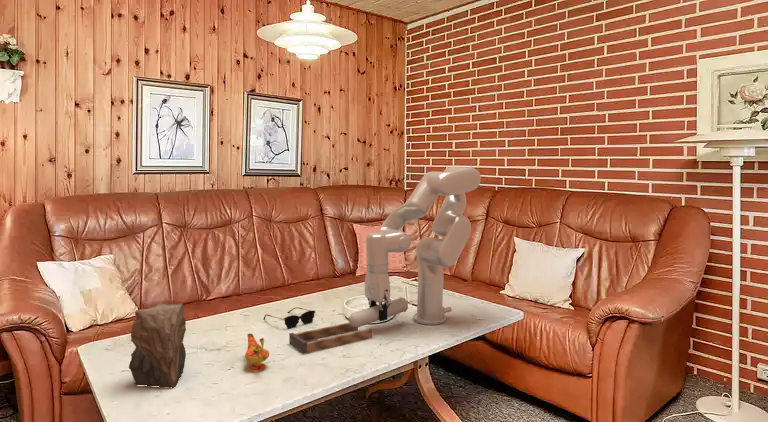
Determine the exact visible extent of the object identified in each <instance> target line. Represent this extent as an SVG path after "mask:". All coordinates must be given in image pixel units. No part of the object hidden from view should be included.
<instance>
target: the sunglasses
mask: <svg viewBox="0 0 768 422" xmlns="http://www.w3.org/2000/svg"><path fill="white" fill-rule="evenodd" d="M295 309H297V310H298V309H299V310H303V311H304V312H303V313H302V314H301V315H299V316H298V315H297V314H296V315H294V314H291V315H288V316H285V317H278V316H274V315H270V314H268V313H267V314H265V315H264V317H263V320H265V319H266V317H271V318H275V319H280V320H282V321H284V325H285V326H286V328H287V330H290V329H294V328H296V327H297V326H298V324H299V321H301V323H302V324H303V325H305V326H306V325H309V324H313V321H314V318H315V314H316V310H311V309H307V308H302V307H294V308H292V309H289V311H287V312H286V313H287V314H290V313H291V312H292V311H293V310H295ZM305 311H306V312H305Z"/></svg>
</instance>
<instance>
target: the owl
mask: <svg viewBox="0 0 768 422" xmlns="http://www.w3.org/2000/svg"><path fill="white" fill-rule="evenodd" d="M184 311H185V306H184V303H183V302H180V303H159V304H157V305H155V306H151V307H149V308H140V309H136V310H135V311H134V315H135V316H136V319H135V320H134V322H133V324H132V326H131V331H130V338H131V339H130V341H131V342H132V344H133V345H134V346H135V348H134V350H133V351H132V353H131V360H130V362H129V364H128V368H129V370H130V373H131V375H132V377H133V380H134V382H135V383H134V385H135V384H136V385H147V386H159V387H172V388H171V389H175V388H174V387H176V388H177V385H178V383H179V382H178V381H179V380H180V379H181V378H180V377H182V375H183V374H184V369H185V365H186V364H185V363H186V357H187V356H186V355H187V353H186V349H185V348H186V347H185V345H184V343H183V342H184V338H185V334H186V331H187V328H186V325H187V322H186V320H187V319H186V317H185V316H184V313H185V312H184ZM182 373H183V374H182ZM181 374H182V375H181ZM179 378H180V379H179ZM159 387H158V388H159Z"/></svg>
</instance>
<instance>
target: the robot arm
mask: <svg viewBox="0 0 768 422" xmlns="http://www.w3.org/2000/svg"><path fill="white" fill-rule="evenodd" d="M481 177H482V176H481V173H480V172H479V171H478V169H476V168H474V167H468V166H449V167H446V168H445V169H444V170H443V171H428V172H426V173H424V175H423V176H422V177H421V179H420V181H419V182H418V183H417V185H416V186H415V188H414V190H413V191H412V193H411V194H410V196H409V197H408V199H407V200H406V202H404V203H403V204H402V205H400V206H399V207H398V208H396V209H395V210H393V212H391V213H390V214H389V215H388V216H387V217H386V219H385V220H384V221H383V223H382V225H381V226H380V227H379V230H378V231H375V232H374V231H373V232H370V233H368V234H367V235H366V237H365V238H366V239H365V242H366V243H365V244H366V246H365V247H366V253H365V254H366V271H365V277H364V297H366V298H367V301H368V305H369V306H368V308H370V307H373V306H376V305H379V306H380V310H379V320H378V321H379V322H383V321H387V320H388V317H387V309H388V307H389V305H390V304H391V303H392V299H391V285H390V284H391V282H390V276H389V253H398V254H399V253H403V252H405V251H407V250H408V249H409V248H410V246H411V244H412V239H411V237H410V235H409V234H408V233H406V232H405V231H402V230H401V229H402V228H403V227H404V226H405V225H407V224H408V223H410V222H413V221H416V220H418V219H421V218H423V217H425V216H426V215H427V214H428V212H429V211H430V209H431V208H432V206H433V204H434V203H435V201H436V200H437V198H438V197H439V196H443V197H444V196H445V197H444V200H443V203H442V204H441V206H440V208H439V211H438V212H437V214H436V216H435V218H434V220H433V223H432V225H431V230H432V232H433V234H435V235H436V236H438V237H433V236H426V237H423V238H420V239H419V241H418V242H417V244H416V247H415V254H416V261H417V270H418V271H417V272H418V273H417V299H416V300H417V301H416V302H417V305H416V306H417V307H416V313H414V314H413V315H412V319H413V321H414V322H416V323H418V324H422V325H428V326H431V325H432V326H433V325H435V326H436V325H441V324H444V323H445V322H447V316H446V315H445V314H446V313H450V312H453V311H452V307H451V306H448V307H445V306H443V302H444V301H443V299H444V269H443V268H451V267H453V266H454V265H456V263H457V261H458V259H459V258H460V256H461V254H462V252H463V251H464V248H465V246H466V245H467V243H468V240H469V238H470V236H471V233H472V223H471V221H470V219H469V218H468V217H467V216H465V215H463V214H464V212H465V210H466V207H467V196H466V193H469V192H472V191H474V190H476V189H478V187H479V186H480V184H481V181H482V178H481ZM439 237H441V238H439ZM442 238H443V239H442ZM383 303H384V305H382V304H383Z"/></svg>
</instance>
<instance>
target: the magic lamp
mask: <svg viewBox="0 0 768 422" xmlns="http://www.w3.org/2000/svg"><path fill="white" fill-rule="evenodd" d="M259 342H260V344H259V343H258V342H257V340H256V338H255V336H254V334H253V333H247V350H246V352H245V355H244V357H245V360H246V361H247V362H249V363H251V364H250V365H249V366H248V370H249V371H252V372H258V371H259V372H261V371H263V370H265V369H266V368H267V365H266V364H265V363H264V362H265V361H267V360H268V359H269V357H270V350H267V349H266V348H264V344H265V338H263V337H261V338H260V339H259Z"/></svg>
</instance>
